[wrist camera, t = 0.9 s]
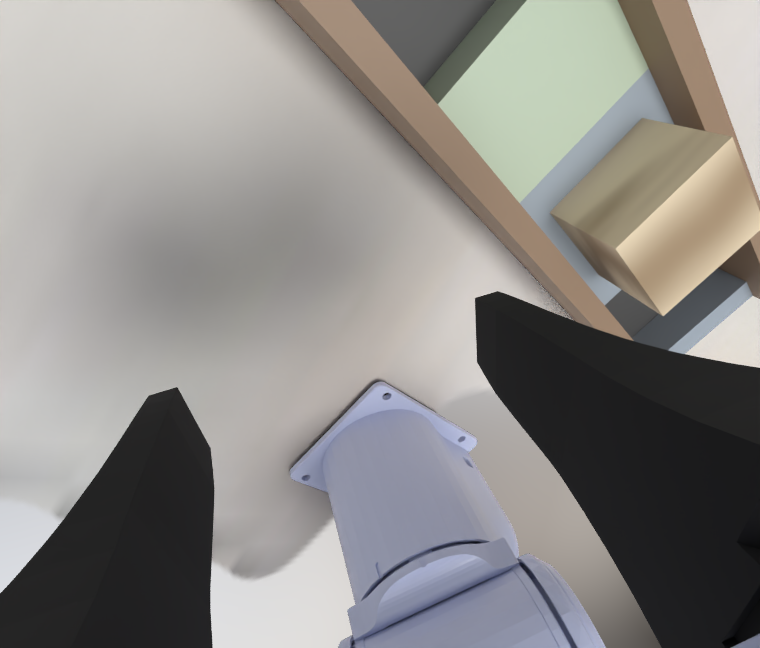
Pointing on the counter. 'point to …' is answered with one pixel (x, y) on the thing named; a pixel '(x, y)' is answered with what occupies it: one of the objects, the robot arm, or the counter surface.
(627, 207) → the maple block
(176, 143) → the counter surface
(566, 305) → the trap track
